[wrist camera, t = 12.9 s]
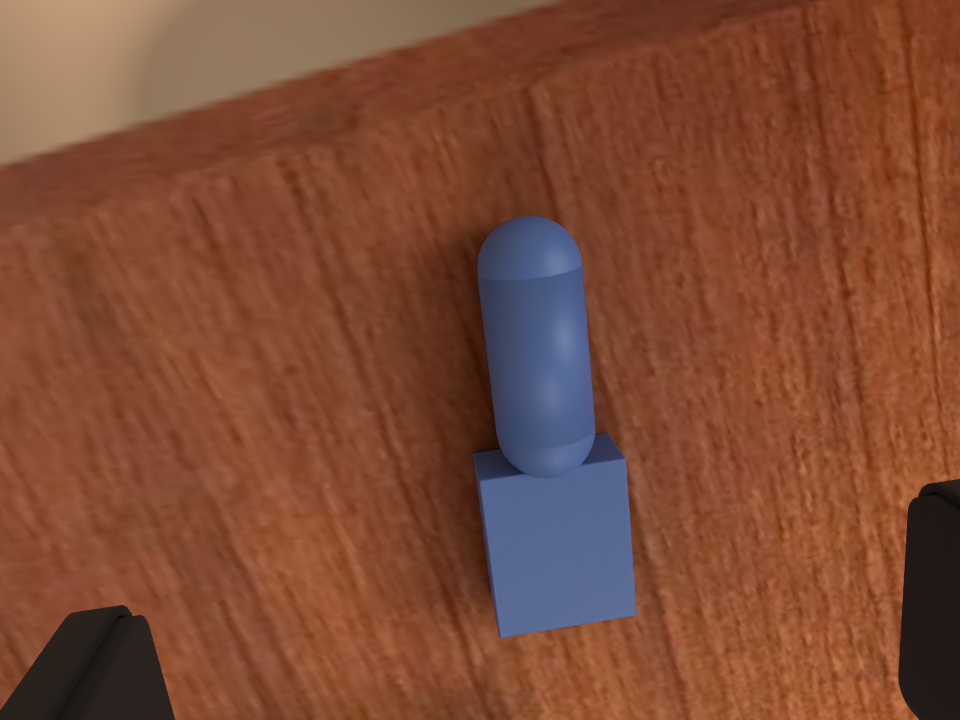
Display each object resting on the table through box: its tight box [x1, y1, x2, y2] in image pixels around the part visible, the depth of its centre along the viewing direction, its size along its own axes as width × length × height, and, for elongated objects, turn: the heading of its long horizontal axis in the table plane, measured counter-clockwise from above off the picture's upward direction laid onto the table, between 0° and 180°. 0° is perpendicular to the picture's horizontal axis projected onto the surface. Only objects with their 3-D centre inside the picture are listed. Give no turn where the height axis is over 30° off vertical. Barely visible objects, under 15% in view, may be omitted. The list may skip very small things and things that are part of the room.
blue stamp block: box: [473, 215, 637, 638], centre depth 22 cm, size 12×4×3 cm, turn 7°
